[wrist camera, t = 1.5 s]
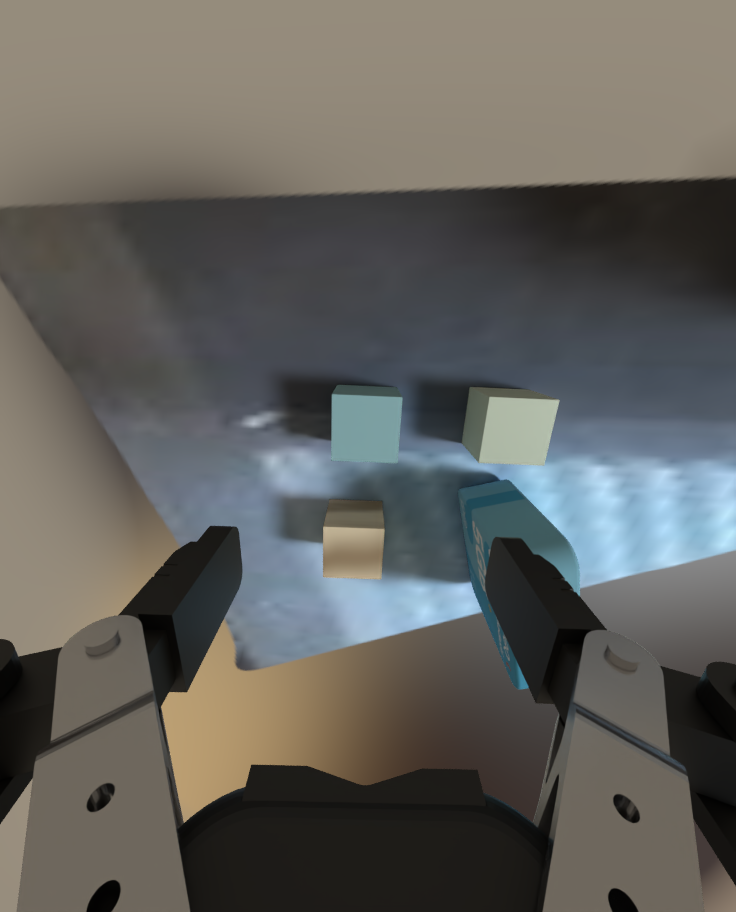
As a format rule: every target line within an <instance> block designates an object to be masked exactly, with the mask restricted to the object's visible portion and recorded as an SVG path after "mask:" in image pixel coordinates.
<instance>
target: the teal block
mask: <svg viewBox="0 0 736 912" xmlns="http://www.w3.org/2000/svg"><path fill="white" fill-rule="evenodd" d="M401 410H402V396H401V394H400V392H399V390H398V389H397V387H378V386H355V385H337V386H336V388H335V390H334V391H333V393H332V442H331V461H353V462H379V463H397V462H398V449H399V436H400V423H401Z"/></svg>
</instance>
